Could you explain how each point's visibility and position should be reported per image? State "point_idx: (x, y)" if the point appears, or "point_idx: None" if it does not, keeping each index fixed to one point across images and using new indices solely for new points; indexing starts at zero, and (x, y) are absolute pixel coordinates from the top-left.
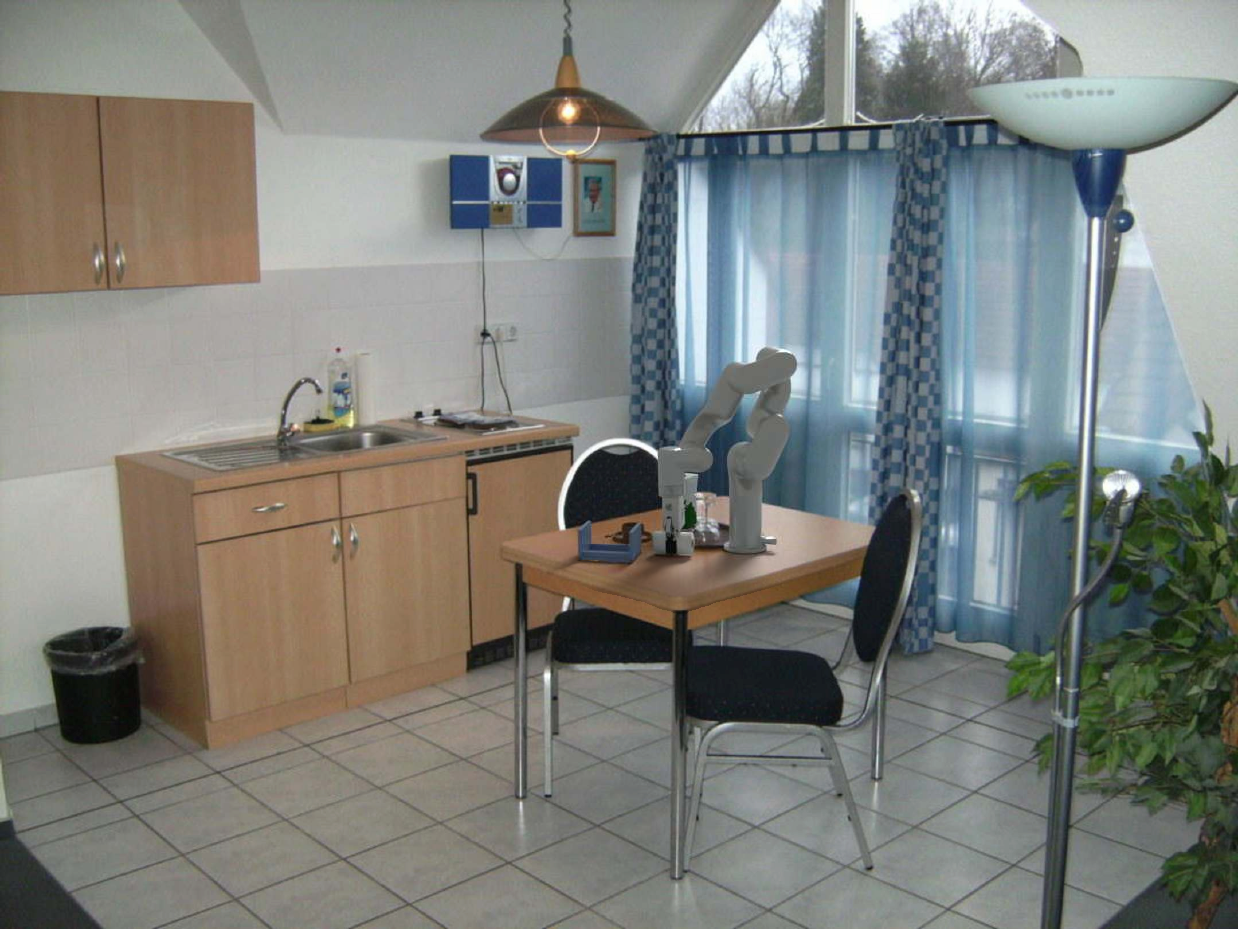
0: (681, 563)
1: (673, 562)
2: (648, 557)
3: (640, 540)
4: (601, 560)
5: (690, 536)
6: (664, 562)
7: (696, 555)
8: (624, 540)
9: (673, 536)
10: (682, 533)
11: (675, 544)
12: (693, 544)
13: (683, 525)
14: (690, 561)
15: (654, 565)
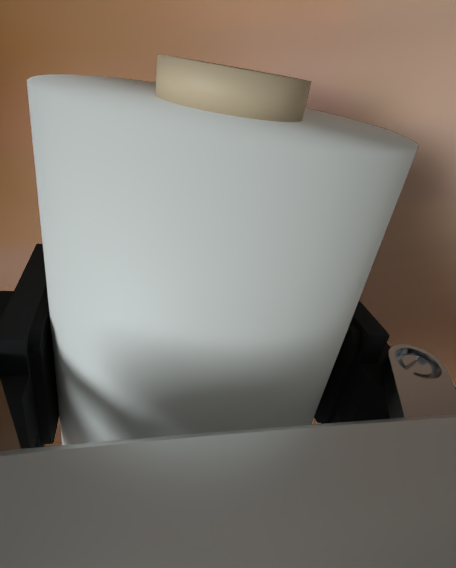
0: (441, 179)
1: (399, 244)
2: None
3: None
4: None
5: (410, 153)
6: (387, 303)
7: (170, 32)
8: None
9: (449, 403)
10: (306, 325)
11: (360, 313)
12: (284, 76)
13: (132, 445)
14: (399, 98)
15: (440, 345)
